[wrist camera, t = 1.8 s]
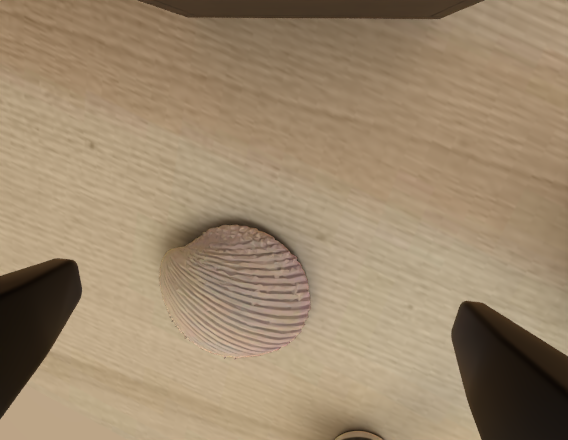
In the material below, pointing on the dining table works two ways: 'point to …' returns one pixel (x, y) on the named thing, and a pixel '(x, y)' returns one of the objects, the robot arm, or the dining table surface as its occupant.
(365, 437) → the supplement bottle
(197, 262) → the seashell
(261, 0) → the waste bin
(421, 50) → the dining table surface
